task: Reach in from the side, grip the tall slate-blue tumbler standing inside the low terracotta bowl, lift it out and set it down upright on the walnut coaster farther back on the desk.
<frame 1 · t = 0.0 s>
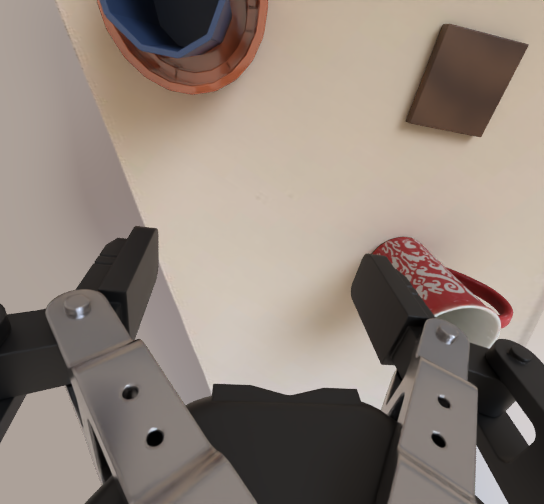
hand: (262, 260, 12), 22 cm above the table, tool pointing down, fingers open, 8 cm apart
coaster: (460, 84, 30), on the table
mug: (407, 259, 41), on the table
tumbler: (192, 7, 25), point 1 cm above the table, touching bowl
bowl: (192, 8, 25), on the table
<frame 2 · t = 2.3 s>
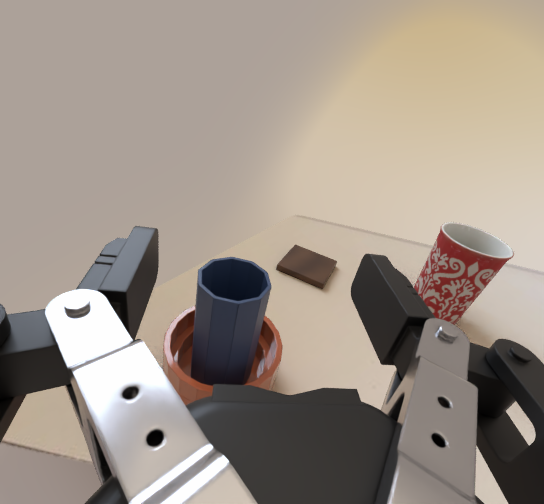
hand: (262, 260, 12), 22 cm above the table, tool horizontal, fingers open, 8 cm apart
coaster: (307, 267, 53), on the table
mug: (428, 306, 50), on the table
tumbler: (220, 368, 33), point 1 cm above the table, touching bowl
bowl: (220, 372, 33), on the table
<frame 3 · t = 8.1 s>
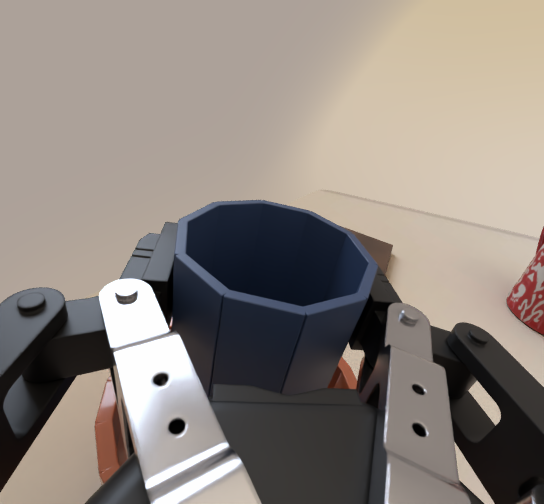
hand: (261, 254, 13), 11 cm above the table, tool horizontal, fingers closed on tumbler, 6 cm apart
coaster: (351, 253, 36), on the table
mug: (536, 310, 34), on the table
tumbler: (231, 443, 16), point 1 cm above the table, touching bowl, gripper
bowl: (230, 450, 16), on the table
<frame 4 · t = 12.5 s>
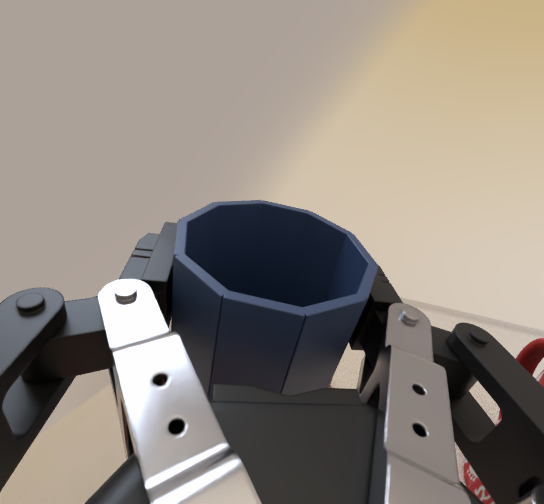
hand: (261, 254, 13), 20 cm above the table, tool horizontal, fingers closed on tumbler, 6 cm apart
mug: (501, 477, 27), on the table
tumbler: (231, 444, 16), point 10 cm above the table, touching gripper
when the fingers open (11 cm above the table, at t = 16.9 s): tumbler stays where it is, resting on coaster.
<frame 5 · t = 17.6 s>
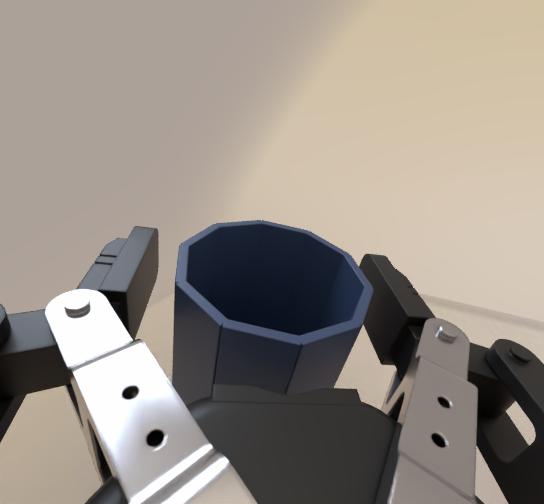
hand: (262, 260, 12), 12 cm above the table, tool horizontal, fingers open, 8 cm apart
tumbler: (232, 455, 16), point 1 cm above the table, touching coaster
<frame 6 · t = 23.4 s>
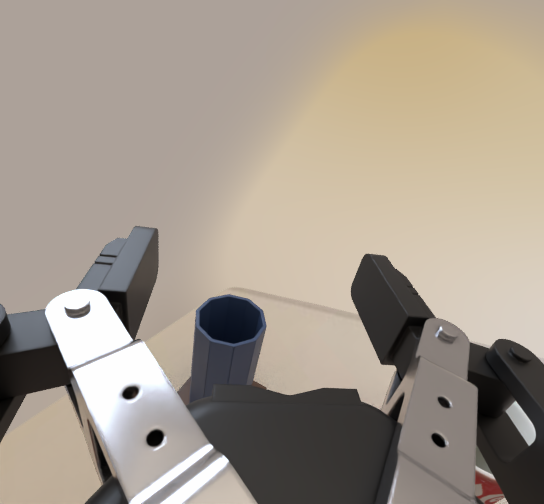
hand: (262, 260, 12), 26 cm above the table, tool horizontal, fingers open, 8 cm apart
mug: (402, 474, 32), on the table
tumbler: (218, 399, 34), point 1 cm above the table, touching coaster
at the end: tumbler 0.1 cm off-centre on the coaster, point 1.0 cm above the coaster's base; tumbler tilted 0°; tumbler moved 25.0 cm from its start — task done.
